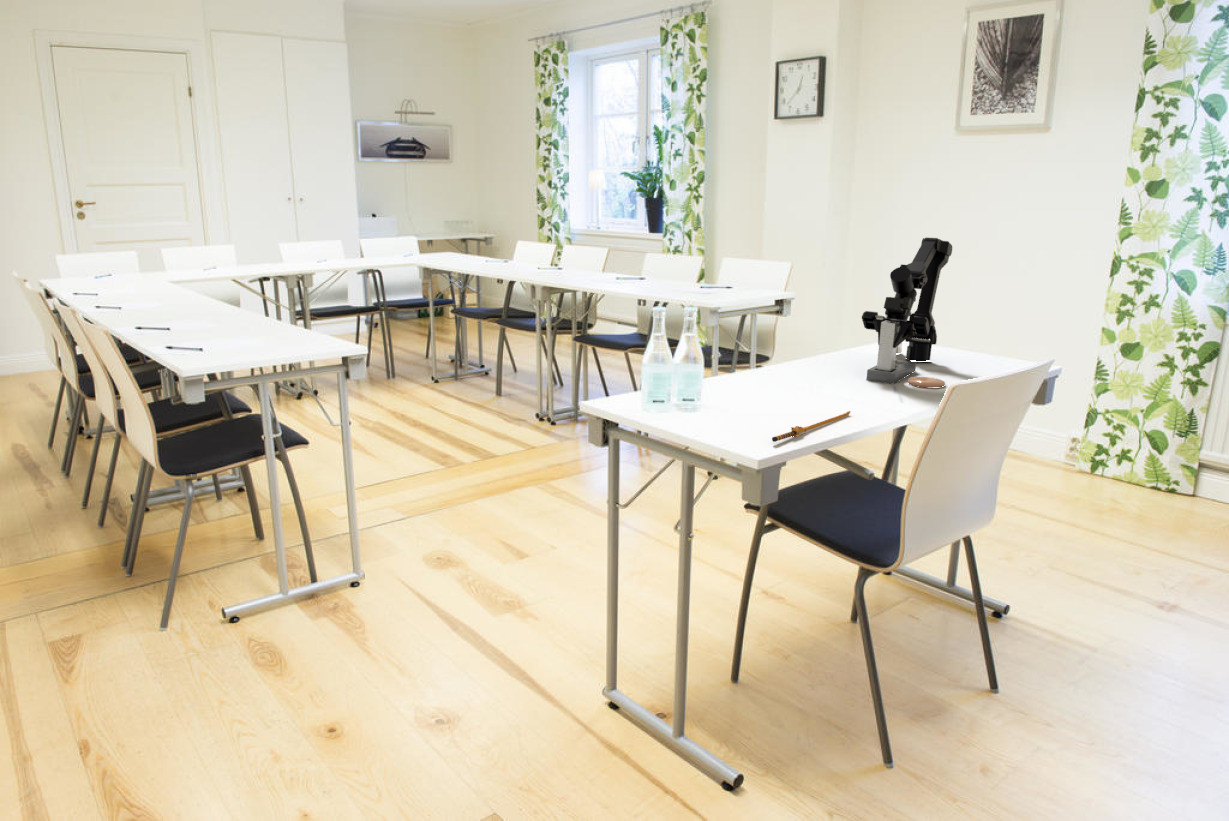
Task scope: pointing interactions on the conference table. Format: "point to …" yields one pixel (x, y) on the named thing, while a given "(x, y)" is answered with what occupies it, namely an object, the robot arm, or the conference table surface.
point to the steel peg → (887, 345)
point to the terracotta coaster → (926, 382)
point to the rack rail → (892, 372)
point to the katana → (808, 428)
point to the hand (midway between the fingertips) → (886, 346)
